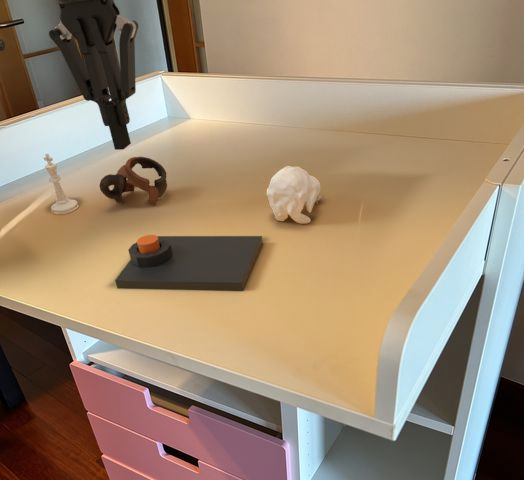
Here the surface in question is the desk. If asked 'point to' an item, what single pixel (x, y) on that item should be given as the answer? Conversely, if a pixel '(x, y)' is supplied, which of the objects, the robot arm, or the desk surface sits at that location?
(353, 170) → the desk surface
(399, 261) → the desk surface
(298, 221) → the white animal figurine
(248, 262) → the dark grey button base
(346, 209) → the desk surface
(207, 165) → the desk surface
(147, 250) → the button
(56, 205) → the chess piece
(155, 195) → the brown curved loop
